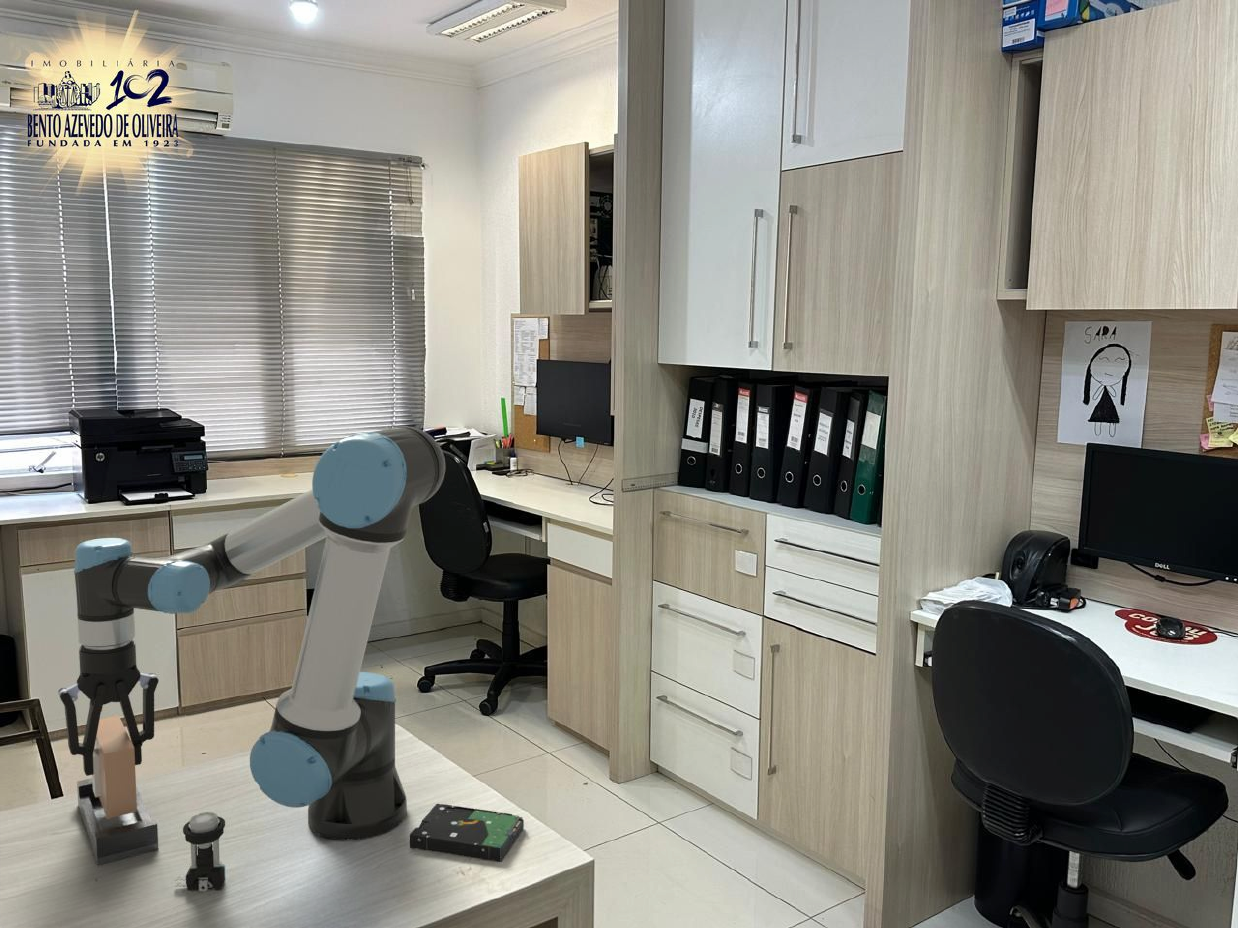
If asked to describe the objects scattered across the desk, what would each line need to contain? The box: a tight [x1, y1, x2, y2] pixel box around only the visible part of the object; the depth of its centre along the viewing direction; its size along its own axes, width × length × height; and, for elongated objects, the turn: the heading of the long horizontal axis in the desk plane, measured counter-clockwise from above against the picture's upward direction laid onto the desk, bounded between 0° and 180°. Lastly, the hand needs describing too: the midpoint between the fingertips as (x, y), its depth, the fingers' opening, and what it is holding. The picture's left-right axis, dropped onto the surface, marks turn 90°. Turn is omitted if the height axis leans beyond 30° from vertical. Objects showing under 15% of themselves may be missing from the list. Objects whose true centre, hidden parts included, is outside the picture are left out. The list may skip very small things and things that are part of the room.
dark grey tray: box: [76, 777, 159, 866], centre depth 150 cm, size 21×8×4 cm, turn 35°
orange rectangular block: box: [94, 715, 137, 819], centre depth 149 cm, size 14×4×10 cm, turn 35°
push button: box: [174, 811, 227, 893], centre depth 134 cm, size 7×5×10 cm
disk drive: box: [409, 803, 525, 863], centre depth 149 cm, size 10×3×15 cm
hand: (114, 788), depth 149 cm, fingers closed on orange rectangular block, 4 cm apart
